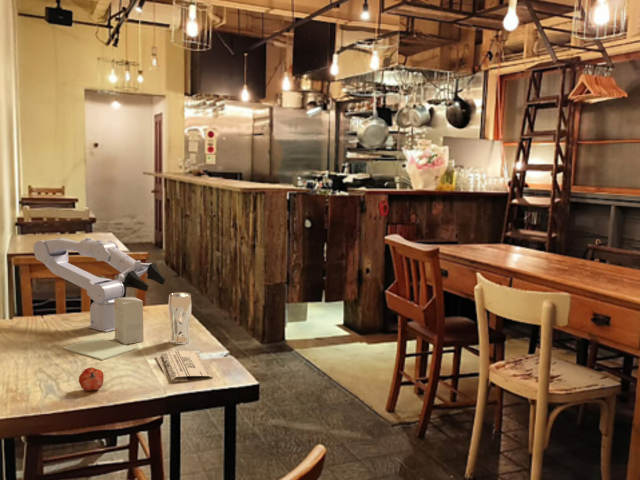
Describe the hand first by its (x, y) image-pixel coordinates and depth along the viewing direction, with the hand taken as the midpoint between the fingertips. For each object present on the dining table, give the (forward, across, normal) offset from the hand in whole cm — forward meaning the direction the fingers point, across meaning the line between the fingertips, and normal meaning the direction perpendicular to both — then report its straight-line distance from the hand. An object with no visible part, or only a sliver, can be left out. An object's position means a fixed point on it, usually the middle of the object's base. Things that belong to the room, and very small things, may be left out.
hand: (155, 285), depth 183 cm
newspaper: (+30, -20, +3) cm, 36 cm away
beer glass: (+16, -2, +11) cm, 20 cm away
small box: (+2, -9, +16) cm, 19 cm away
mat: (+1, -20, +16) cm, 25 cm away
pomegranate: (+21, -42, +4) cm, 47 cm away
